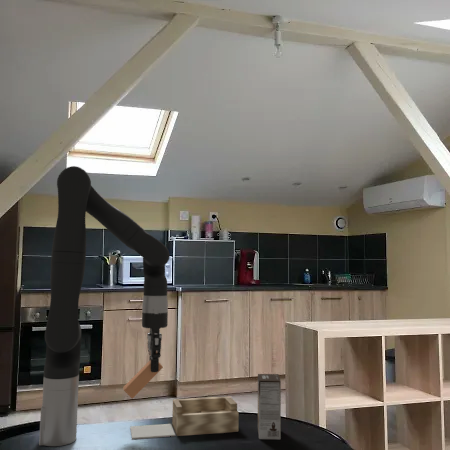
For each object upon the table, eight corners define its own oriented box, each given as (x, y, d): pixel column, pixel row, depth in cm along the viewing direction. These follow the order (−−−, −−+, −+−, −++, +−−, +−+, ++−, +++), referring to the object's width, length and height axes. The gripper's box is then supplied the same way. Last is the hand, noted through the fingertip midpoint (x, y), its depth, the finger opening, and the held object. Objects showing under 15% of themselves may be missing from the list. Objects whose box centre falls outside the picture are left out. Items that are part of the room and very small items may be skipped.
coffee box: (257, 428, 139) (257, 373, 141) (278, 429, 139) (278, 373, 140) (258, 439, 130) (258, 380, 131) (281, 439, 130) (281, 380, 131)
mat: (132, 439, 129) (132, 437, 129) (130, 427, 138) (130, 426, 138) (175, 436, 132) (175, 434, 132) (170, 425, 141) (170, 423, 141)
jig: (177, 436, 132) (177, 408, 133) (172, 425, 141) (172, 399, 142) (238, 431, 136) (238, 404, 137) (229, 421, 146) (229, 396, 147)
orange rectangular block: (132, 398, 133) (123, 390, 132) (131, 395, 137) (123, 387, 136) (163, 367, 136) (154, 358, 135) (161, 364, 140) (153, 356, 139)
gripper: (140, 309, 145) (139, 366, 143) (144, 313, 131) (142, 376, 129) (164, 309, 147) (163, 365, 145) (170, 312, 133) (169, 374, 131)
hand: (153, 369), depth 137 cm, fingers closed on orange rectangular block, 4 cm apart
